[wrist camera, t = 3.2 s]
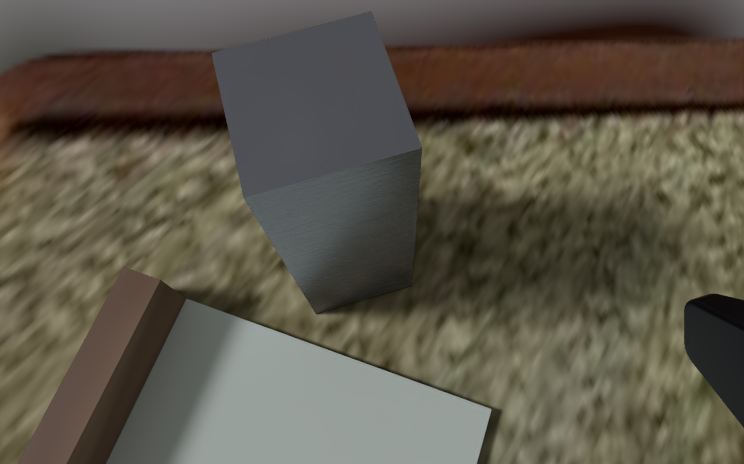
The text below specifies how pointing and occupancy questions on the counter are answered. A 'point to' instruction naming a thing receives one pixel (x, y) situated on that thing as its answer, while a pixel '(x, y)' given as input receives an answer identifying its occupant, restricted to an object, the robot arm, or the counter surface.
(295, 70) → the bracket
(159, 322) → the corner walls
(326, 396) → the mat
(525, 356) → the counter surface
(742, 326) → the robot arm
